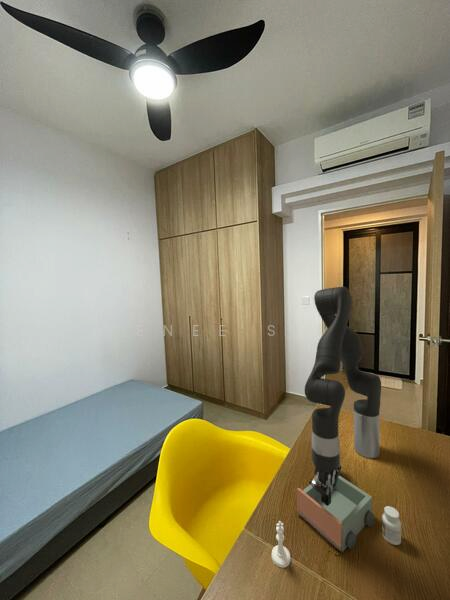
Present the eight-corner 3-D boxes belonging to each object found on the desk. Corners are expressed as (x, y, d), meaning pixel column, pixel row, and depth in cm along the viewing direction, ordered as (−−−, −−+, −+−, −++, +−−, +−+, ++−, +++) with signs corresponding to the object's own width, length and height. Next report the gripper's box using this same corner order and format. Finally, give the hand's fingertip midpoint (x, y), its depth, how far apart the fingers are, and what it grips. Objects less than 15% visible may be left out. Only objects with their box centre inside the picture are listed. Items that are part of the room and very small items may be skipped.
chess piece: (269, 548, 67) (268, 514, 67) (286, 545, 68) (285, 511, 67) (274, 569, 62) (273, 532, 62) (293, 566, 63) (292, 529, 62)
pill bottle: (383, 526, 72) (383, 501, 71) (401, 535, 69) (401, 509, 68) (381, 539, 68) (380, 513, 68) (400, 549, 66) (400, 522, 65)
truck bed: (326, 484, 87) (326, 467, 87) (376, 519, 74) (376, 499, 73) (296, 509, 78) (296, 490, 78) (347, 555, 65) (347, 532, 64)
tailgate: (298, 510, 77) (298, 487, 76) (341, 549, 65) (342, 522, 65) (296, 512, 76) (296, 488, 76) (339, 551, 65) (340, 524, 64)
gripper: (326, 431, 78) (327, 483, 80) (299, 449, 71) (301, 505, 72) (350, 444, 72) (350, 499, 73) (323, 464, 65) (324, 526, 66)
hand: (326, 502), depth 73 cm, fingers closed
